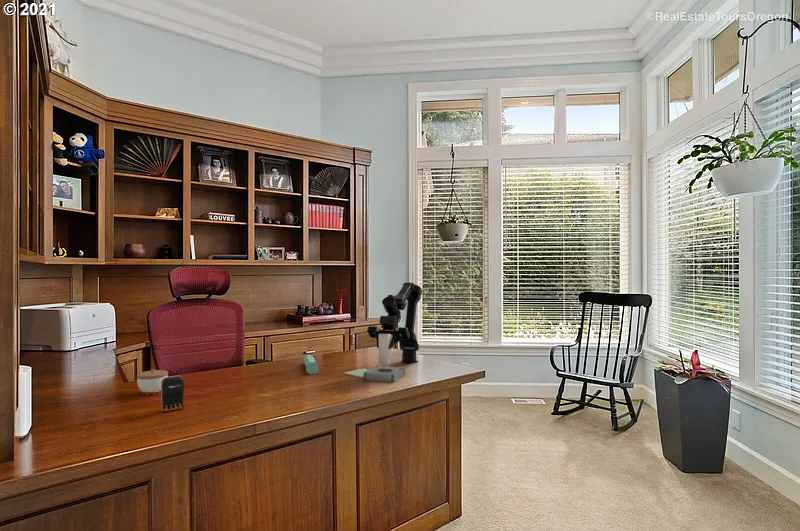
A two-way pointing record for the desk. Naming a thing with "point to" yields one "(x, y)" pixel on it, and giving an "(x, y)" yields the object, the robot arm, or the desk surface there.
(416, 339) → the robot arm
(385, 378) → the flange
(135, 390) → the desk surface
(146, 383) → the lidded jar
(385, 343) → the end plug
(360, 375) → the felt pad
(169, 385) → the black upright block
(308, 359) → the green faceted rod
